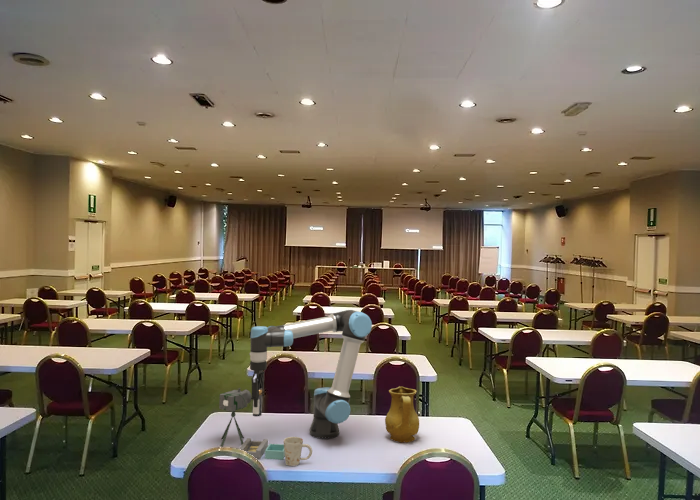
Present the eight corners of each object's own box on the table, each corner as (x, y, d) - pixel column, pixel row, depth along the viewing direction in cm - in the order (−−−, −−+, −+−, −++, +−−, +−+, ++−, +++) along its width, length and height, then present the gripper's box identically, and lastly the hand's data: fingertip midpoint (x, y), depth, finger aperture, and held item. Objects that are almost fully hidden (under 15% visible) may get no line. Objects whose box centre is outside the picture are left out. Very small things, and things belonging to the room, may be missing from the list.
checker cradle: (267, 447, 227) (268, 439, 227) (260, 459, 213) (260, 450, 213) (246, 446, 227) (247, 438, 228) (237, 458, 213) (238, 449, 214)
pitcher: (424, 434, 247) (422, 386, 247) (413, 449, 230) (411, 396, 230) (392, 430, 255) (391, 383, 255) (379, 443, 238) (378, 393, 238)
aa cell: (262, 413, 222) (263, 386, 223) (260, 416, 218) (260, 388, 219) (254, 413, 223) (254, 386, 223) (251, 416, 219) (252, 388, 219)
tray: (287, 452, 221) (287, 444, 221) (283, 459, 213) (283, 451, 213) (269, 451, 222) (269, 443, 222) (264, 458, 213) (265, 450, 214)
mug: (283, 459, 213) (284, 436, 213) (312, 459, 214) (312, 436, 214) (282, 467, 205) (283, 443, 205) (312, 467, 206) (312, 443, 206)
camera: (233, 450, 222) (234, 395, 223) (209, 443, 230) (211, 390, 231) (256, 440, 236) (258, 388, 236) (233, 433, 244) (235, 383, 244)
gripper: (255, 356, 230) (254, 406, 229) (244, 364, 213) (243, 417, 212) (271, 357, 229) (270, 407, 229) (261, 364, 212) (260, 418, 212)
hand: (257, 412), depth 220 cm, fingers closed on aa cell, 4 cm apart
